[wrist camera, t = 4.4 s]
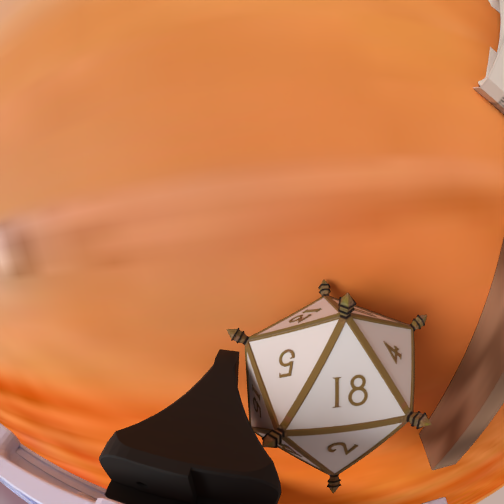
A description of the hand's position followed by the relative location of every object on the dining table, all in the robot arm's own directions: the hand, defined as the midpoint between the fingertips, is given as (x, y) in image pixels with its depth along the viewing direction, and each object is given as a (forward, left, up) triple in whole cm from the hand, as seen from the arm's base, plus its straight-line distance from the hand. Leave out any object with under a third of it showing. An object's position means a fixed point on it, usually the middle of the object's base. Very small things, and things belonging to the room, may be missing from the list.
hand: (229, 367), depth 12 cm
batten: (0, -16, -3) cm, 16 cm away
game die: (+1, -4, -3) cm, 5 cm away
